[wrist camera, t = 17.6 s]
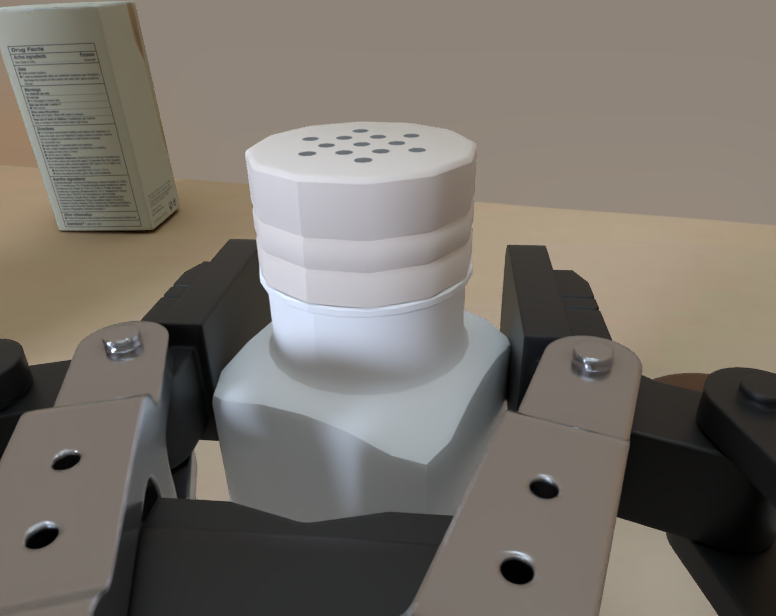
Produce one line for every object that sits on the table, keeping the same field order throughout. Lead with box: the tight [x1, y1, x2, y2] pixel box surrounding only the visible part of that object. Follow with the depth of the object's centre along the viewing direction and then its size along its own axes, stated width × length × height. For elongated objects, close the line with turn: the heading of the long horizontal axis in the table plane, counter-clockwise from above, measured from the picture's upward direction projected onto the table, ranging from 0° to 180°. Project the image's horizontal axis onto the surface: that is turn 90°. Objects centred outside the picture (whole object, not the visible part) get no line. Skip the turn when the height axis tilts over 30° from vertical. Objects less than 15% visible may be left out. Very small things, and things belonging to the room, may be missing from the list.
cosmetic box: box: [0, 1, 179, 231], centre depth 36 cm, size 6×4×12 cm
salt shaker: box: [212, 122, 511, 523], centre depth 11 cm, size 4×4×10 cm
